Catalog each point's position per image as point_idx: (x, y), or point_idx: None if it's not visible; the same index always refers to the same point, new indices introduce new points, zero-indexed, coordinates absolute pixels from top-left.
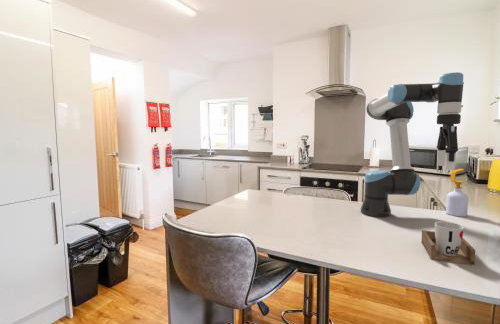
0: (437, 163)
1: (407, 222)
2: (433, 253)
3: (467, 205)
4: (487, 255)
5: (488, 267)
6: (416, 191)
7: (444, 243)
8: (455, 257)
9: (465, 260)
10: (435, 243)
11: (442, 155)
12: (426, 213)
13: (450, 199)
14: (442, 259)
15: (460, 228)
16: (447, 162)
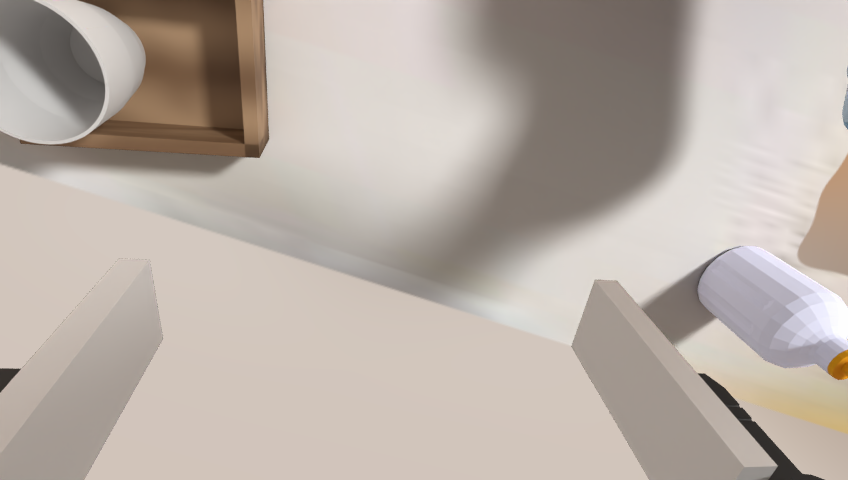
0: (608, 297)
1: (600, 4)
2: None
3: (737, 335)
4: (211, 210)
5: (67, 167)
6: (844, 120)
7: (17, 24)
8: None
9: None
10: (230, 38)
11: (653, 431)
12: (759, 158)
13: (786, 291)
14: None
15: (72, 133)
16: (63, 341)
